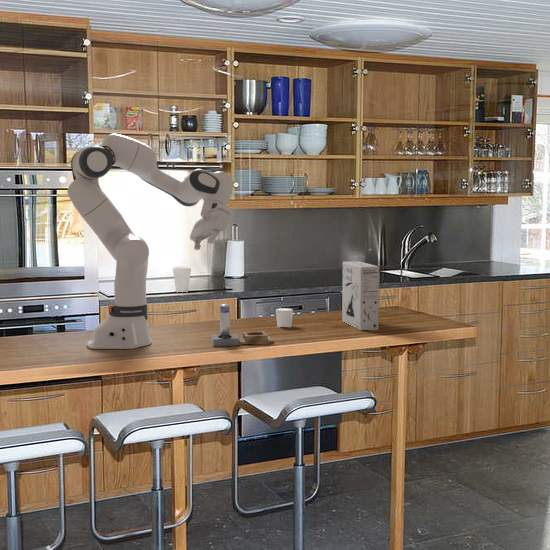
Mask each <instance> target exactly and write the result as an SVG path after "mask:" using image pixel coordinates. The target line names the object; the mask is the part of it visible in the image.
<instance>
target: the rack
mask: <svg viewBox="0 0 550 550" xmlns="http://www.w3.org/2000/svg"><path fill="white" fill-rule="evenodd" d="M238 338H239V346H243V345H242V344H253V345H273V344H274V343H275V341H274V340H273V339H272V338H271V336H269V335H268V334H267V333H266V331H264V330H263V331H260V330H259V331H242V336H240V337H239V336H238Z"/></svg>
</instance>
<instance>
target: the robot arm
mask: <svg viewBox="0 0 550 550" xmlns="http://www.w3.org/2000/svg"><path fill="white" fill-rule="evenodd" d="M157 161H158V158H157V154H156V151H155V150H154V149H153V148H152V147H150V146H149V145H147V144H146V143H143V142H141V141H138V140H137V139H134V138H131V137H129V136H125V135H122V134H117V133H111V134H108V135H107V136H105V138H104V139H102V143H101V144H100V145H92V146H87V147H82V148H80V149H79V150H78V151H77V152H75V153H74V154H73V156H72V157H71V161H70V167H71V172H72V173H71V174H72V179H73V181H72V182H71V183H70V184H69V185H68V188H67V196H68V197H69V199H70V202H71V204H72V205H73V206H74V208H75V209H76V211H77V212H78V214H79V215H80V217H81V218H82V219H83V220H84V221H85V222H86V224H87V225H88V226H89V228H91V230H92V231H93V232H94V234H95V235H96V237H97V238H98V239H99V240H100V242H101V243H102V245H103V246H104V247H105V249H106V250H107V252H108V253H109V254H110V255H111V257H112V258H113V259H114V260H115V262H116V265H115V277H114V283H113V285H114V286H113V287H114V293H113V294H114V304H109V305H108V306H107V307H108V308H107V309H108V315H109V316H107V317H106V318H104V320H102V321H101V322H100V323H98V324H97V326H95V328H94V331H93V336H92V339H89V340H88V341H87V343H86V347H87V348H88V349H92V350H93V349H96V350H99V349H102V350H103V349H104V350H105V349H106V350H107V349H110V350H112V349H113V350H115V349H116V350H117V349H118V350H124V349H125V350H130V349H131V350H132V349H133V350H134V349H137V348H140V347H146V346H149V345H151V344H152V339H151V336H150V331H149V325H148V323H149V322H148V320H149V319H148V318H149V307H148V304H147V276H148V275H147V274H148V265H149V256H150V250H149V249H150V248H149V246H148V244H147V242H146V241H145V240H144V239H143V238H142V237H140V236H137V235H136V234H135V233H134V232H133V231H132V229H131V228H130V226H129V224H127V222H126V220H125V219H124V216H123V215H122V214H121V212H120V211H119V210H118V209H117V206H115V205H114V204H113V202H112V201H111V200H110V198H109V197H108V196H107V195H106V194H105V192H104V191H103V190H102V188H101V185H100V181H99V179H100V178H102V177H104V176H105V175H107V174H108V172H110V170H111V169H112V167H113V166H114V167H117V168H118V167H119V168H121V169H123V170H124V171H127V172H129V173H132V174H133V175H135V176H137V177H139V178H140V179H141V180H142V181H144V182H146V183H147V184H148V185H150V186H152V187H154V188H156V189H158V190H159V191H162V192H163V193H165V194H167V195H169V196H170V197H172V198H173V199H174V200H175V201H176V202H177V203H179V204H180V205H182V206H184V207H193V206H195V205H197V204H198V203H199V202H200V201H201V200H202V201H203V204H202V207H201V211H200V216H201V218H200V219H198V220H197V221H196V222H195V223H194V225H193V227H192V230H191V233H190V235H189V239H190V240H191V241H192V242H194V246H193V249H194V250H196V251H199V250H200V249H201V246H202V245H201V243H202V241H204V240H207V239H208V240H207V243H208V244H210V245H212V244H214V243H215V240H216V238H217V237H218V236H219V233H222V232H223V231H225V230H226V229H227V227H228V226H229V222H230V218H231V216H232V214H233V211H234V210H233V209H232V208H230V207H228V204H229V202H230V200H231V197H232V193H233V187H234V182H233V178H232V176H230V174H228V173H226V172H225V171H221V170H219V171H214V172H213V171H207V170H205V169H203V168H196V169H194V170H192V171H191V172H190V173H189V174H188V175H186V176H185V178H183V179H176V177H175V178H174V177H173V176H171V175H169V174H167V173H165V172H164V171H162V170H160V169H159V168H158V163H157Z"/></svg>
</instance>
